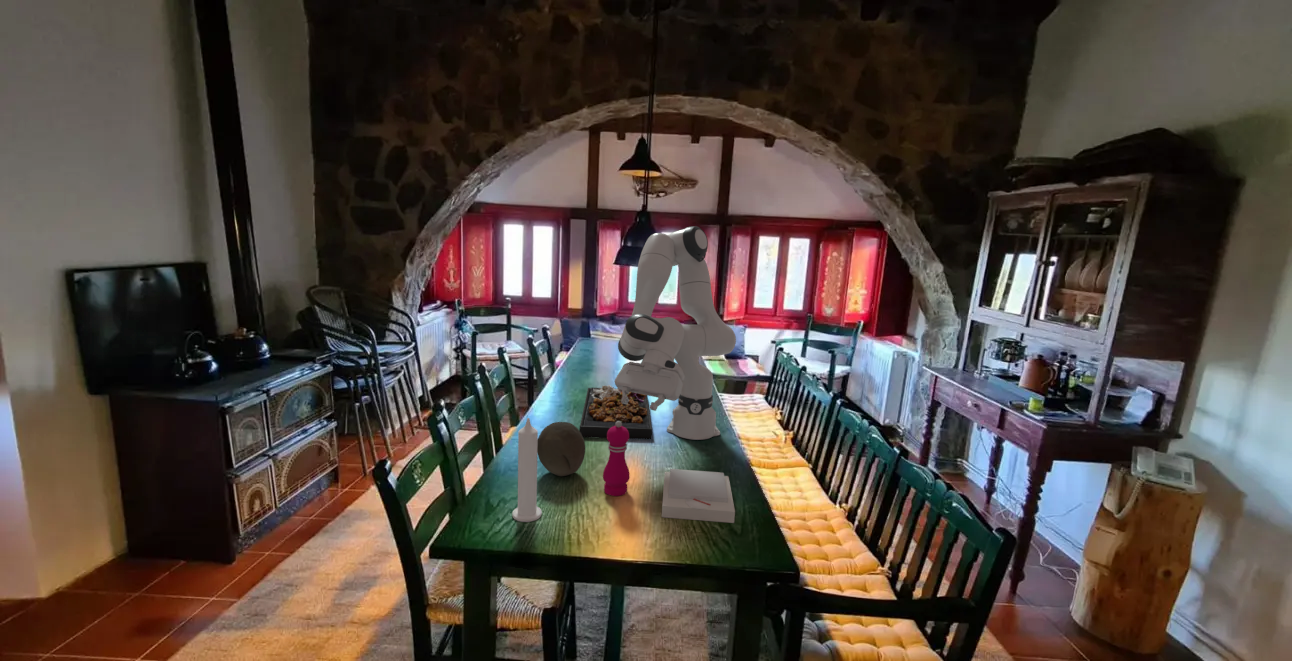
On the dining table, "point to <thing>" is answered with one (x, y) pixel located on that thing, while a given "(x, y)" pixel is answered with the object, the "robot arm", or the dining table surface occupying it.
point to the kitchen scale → (697, 496)
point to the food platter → (615, 413)
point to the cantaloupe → (561, 448)
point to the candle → (527, 475)
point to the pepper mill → (616, 461)
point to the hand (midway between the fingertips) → (637, 406)
